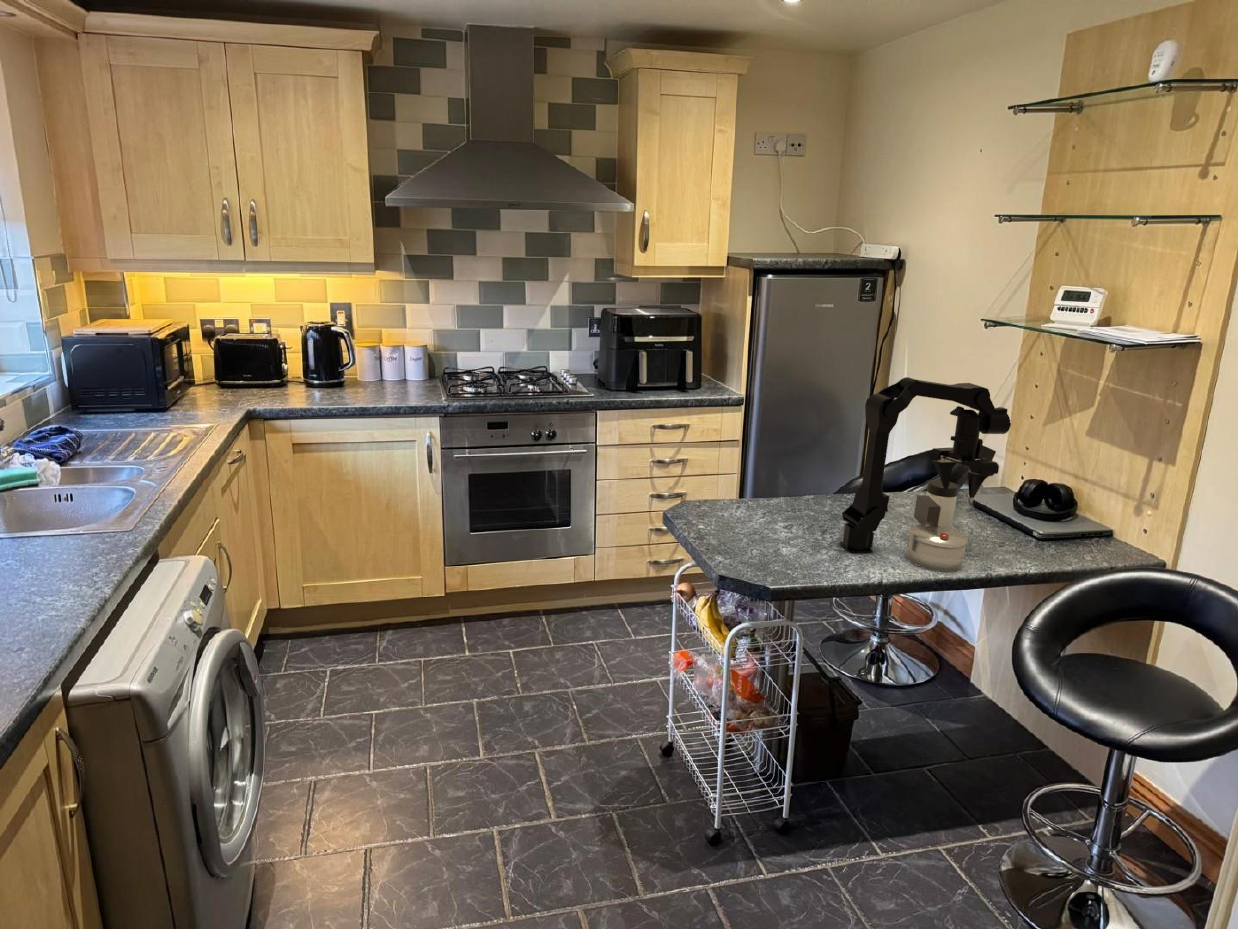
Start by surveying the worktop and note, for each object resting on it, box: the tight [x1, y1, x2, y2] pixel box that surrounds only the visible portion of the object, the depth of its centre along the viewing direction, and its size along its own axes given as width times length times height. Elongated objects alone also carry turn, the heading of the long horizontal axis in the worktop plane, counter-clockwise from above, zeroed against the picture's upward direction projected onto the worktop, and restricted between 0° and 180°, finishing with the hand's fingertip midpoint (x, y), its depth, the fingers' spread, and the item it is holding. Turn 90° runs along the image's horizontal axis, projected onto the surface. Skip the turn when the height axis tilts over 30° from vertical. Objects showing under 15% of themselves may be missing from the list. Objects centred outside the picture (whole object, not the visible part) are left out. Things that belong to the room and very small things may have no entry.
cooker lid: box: [909, 494, 969, 548], centre depth 211 cm, size 22×13×6 cm, turn 178°
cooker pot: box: [906, 535, 967, 573], centre depth 211 cm, size 20×13×6 cm, turn 148°
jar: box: [925, 479, 960, 529], centre depth 235 cm, size 9×8×12 cm
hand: (958, 493), depth 216 cm, fingers open, 9 cm apart
